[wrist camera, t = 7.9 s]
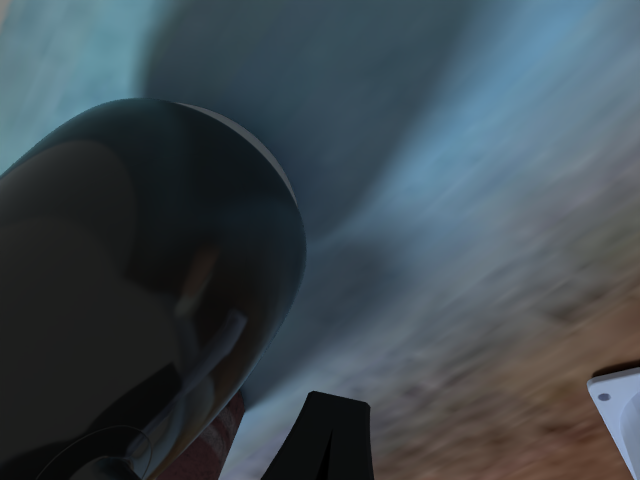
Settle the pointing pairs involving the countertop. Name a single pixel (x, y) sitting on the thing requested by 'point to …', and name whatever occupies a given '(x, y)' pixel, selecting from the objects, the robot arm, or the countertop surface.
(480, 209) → the countertop surface
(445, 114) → the countertop surface
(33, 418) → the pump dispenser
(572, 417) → the countertop surface
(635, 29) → the countertop surface
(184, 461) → the can
